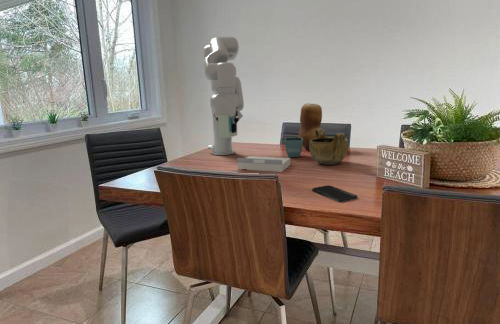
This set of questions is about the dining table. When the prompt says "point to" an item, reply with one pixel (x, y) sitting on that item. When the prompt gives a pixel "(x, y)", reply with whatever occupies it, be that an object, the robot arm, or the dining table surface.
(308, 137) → the butternut squash
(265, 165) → the flat grey box
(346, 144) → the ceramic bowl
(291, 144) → the flower pot
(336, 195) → the phone
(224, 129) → the carton
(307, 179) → the dining table surface
